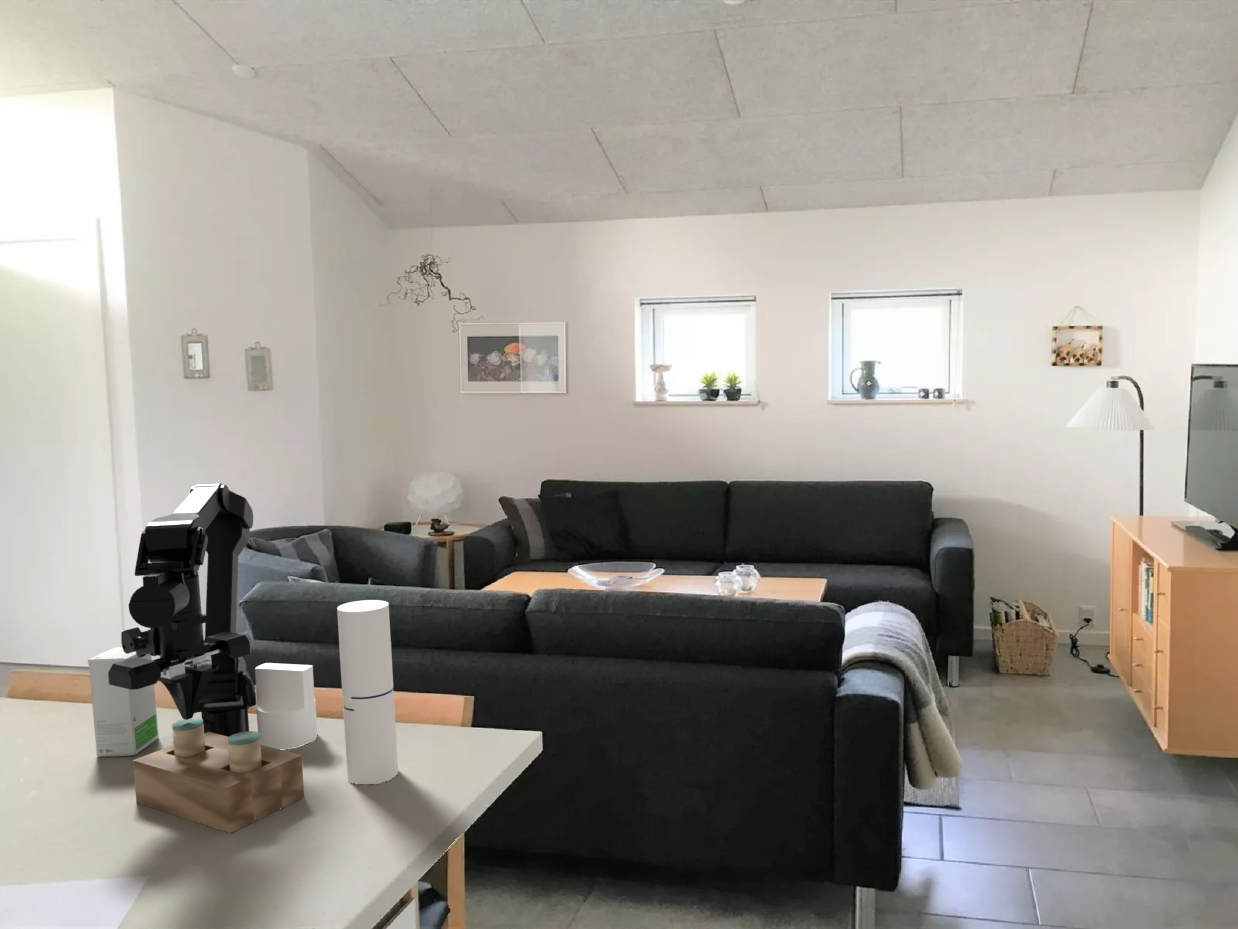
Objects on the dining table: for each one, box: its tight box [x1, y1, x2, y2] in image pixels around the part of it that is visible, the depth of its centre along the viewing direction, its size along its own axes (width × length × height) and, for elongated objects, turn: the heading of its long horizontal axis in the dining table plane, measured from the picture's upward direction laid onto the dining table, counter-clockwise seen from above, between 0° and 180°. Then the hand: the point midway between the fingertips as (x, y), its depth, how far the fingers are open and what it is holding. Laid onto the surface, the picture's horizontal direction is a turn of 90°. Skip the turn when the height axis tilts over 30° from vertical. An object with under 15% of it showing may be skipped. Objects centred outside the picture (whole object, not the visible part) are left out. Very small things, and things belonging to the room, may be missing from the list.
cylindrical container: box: [336, 599, 399, 785], centre depth 142 cm, size 7×7×25 cm
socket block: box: [132, 732, 305, 834], centre depth 137 cm, size 12×20×6 cm, turn 59°
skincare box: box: [87, 646, 160, 758], centre depth 157 cm, size 8×7×16 cm
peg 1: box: [171, 717, 205, 759], centre depth 139 cm, size 4×4×6 cm
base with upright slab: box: [254, 662, 318, 750], centre depth 158 cm, size 9×9×12 cm
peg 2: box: [228, 730, 262, 775], centre depth 133 cm, size 4×4×6 cm
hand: (187, 718), depth 139 cm, fingers closed
